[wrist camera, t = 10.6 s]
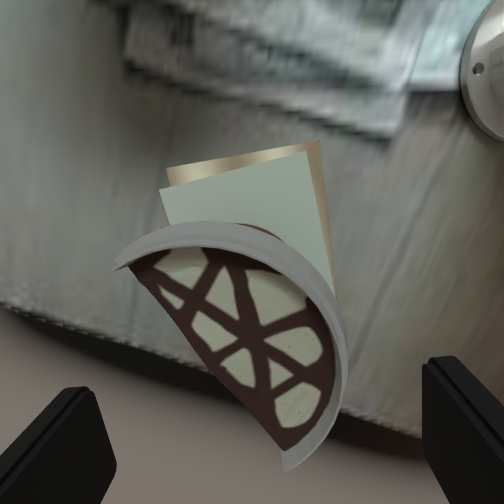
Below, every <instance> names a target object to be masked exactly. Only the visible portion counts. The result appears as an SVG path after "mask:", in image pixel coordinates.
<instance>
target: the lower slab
mask: <svg viewBox="0 0 504 504" xmlns="http://www.w3.org/2000/svg"><path fill="white" fill-rule="evenodd" d="M303 151H306V153H307V158H308V163H309V168H310V173H311V178H312V183H313V188H314V193H315V198H316V203H317V208H318V212H319V217H320V222H321V227H322V232H323V237H324V242H325V247H326V252H327V257H328V262H329V267H330V272H331V277H332V282H333V287H334V292H335V297H336V300H337V296H336V287H335V278H334V269H333V260H332V250H331V241H330V232H329V223H328V214H327V205H326V196H325V187H324V177H323V168H322V159H321V150H320V141H319V140H318V141H313V142H307V143H302V144H296V145H291V146H285V147H280V148H274V149H269V150H263V151H258V152H252V153H247V154H241V155H236V156H230V157H225V158H219V159H214V160H208V161H203V162H197V163H192V164H186V165H181V166H175V167H169V168H166V170H167V175H168V179H169V183H170V187H171V186H175V185H179V184H183V183H186V182H190V181H194V180H198V179H201V178H205V177H209V176H213V175H216V174H220V173H224V172H228V171H231V170H235V169H239V168H243V167H246V166H250V165H254V164H258V163H261V162H265V161H269V160H273V159H276V158H280V157H284V156H288V155H292V154H295V153H299V152H303Z"/></svg>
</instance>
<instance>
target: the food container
mask: <svg viewBox="0 0 504 504" xmlns="http://www.w3.org/2000/svg"><path fill="white" fill-rule="evenodd" d="M115 261H116V262H117V264H118V266H116V267H115V268H113V269H112V270H111V271H112V272H114V271H116V270H119V269H122V268H124V267H127V266H128V267H129V269H130V270H131V271H132V272H133V273H134V275H135V276H136V278H137V279H138V281H139V282H140V283H141V284H143V285H144V286H145V287H146V288H147V289H148V290H149V291H150V292H151V294H152V295H153V296H154V297H155V298H156V299H157V301H158V302H159V303H160V304H161V306H162V307H163V308H164V309H165V310H166V312H167V313H168V314H169V315H170V317H171V318H172V319H173V321H174V322H175V323H176V325H177V326H178V327H179V329H180V330H181V331H182V333H183V334H184V336H185V337H186V339H187V340H188V341H189V343H190V344H191V346H192V347H193V349H194V350H195V351H196V353H197V354H198V355H199V357H200V358H201V359H202V361H203V362H204V363H205V365H206V366H207V368H208V369H209V370H210V371H211V372H212V373H213V374H214V375H215V376H216V377H217V378H218V379H219V381H220V382H222V384H223V385H224V386H226V387H227V388H228V389H229V390H230V391H231V392H232V393H233V394H234V395H235V396H236V397H237V398H238V399H239V400H240V401H241V402H242V403H243V404H244V405H245V406H246V407H247V408H248V410H249V411H250V412H251V413H252V414H253V416H254V417H255V418H256V419H257V420H258V422H259V423H260V424H261V425H262V426H263V428H264V429H265V430H266V431H267V432H268V434H269V435H271V437H272V438H273V439H274V441H275V442H276V443H277V444H278V446H279V447H280V448H281V456H282V467H283V473H286V472H288V471H289V470H291V469H293V468H294V467H296V466H297V465H299V464H300V463H301V462H303V461H304V460H305V459H306V458H307V457H309V455H311V454H312V453H313V452H314V451H315V450H316V448H317V447H318V446H319V445H320V444H321V443H322V442H323V440H324V439H325V438H326V436H327V434H328V433H329V431H330V429H331V428H332V426H333V424H334V422H335V420H336V417H337V414H338V411H339V409H340V406H341V402H342V400H343V397H344V394H345V388H346V382H347V377H348V354H347V334H346V329H345V324H344V319H343V315H342V313H341V310H340V307H339V305H338V302H337V300H336V297H335V296H334V294H333V292H332V291H331V289H330V287H329V286H328V284H327V282H326V281H325V279H324V278H323V277H322V276H321V274H320V273H319V272H318V271H317V270H316V269H315V267H314V266H313V265H312V264H311V263H310V262H309V261H308V260H307V259H306V258H304V257H303V256H302V255H301V254H300V253H298V252H297V251H296V250H295V249H294V248H292V247H290V246H289V245H287V244H286V243H285V242H284V241H282V240H281V239H280V238H279V237H278V236H276V235H275V234H273V233H271V232H269V231H268V230H265V229H263V228H260V227H258V226H254V225H249V224H240V223H230V222H219V221H195V222H183V223H179V224H175V225H171V226H167V227H163V228H161V229H158V230H156V231H154V232H151V233H149V234H147V235H145V236H142V237H141V238H139V239H138V240H136V241H135V242H133V243H132V244H130V245H128V246H127V247H126V248H125V249H124V250H123V251H122V252H121V254H120V255H119V256H118V257H117V258H116V259H115Z"/></svg>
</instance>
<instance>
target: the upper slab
mask: <svg viewBox="0 0 504 504" xmlns="http://www.w3.org/2000/svg"><path fill="white" fill-rule="evenodd" d="M159 192H160V195H161V198H162V201H163V204H164V207H165V210H166V214H167V217H168V220H169V223H170V226H171V225H175V224H179V223H183V222H195V221H219V222H230V223H240V224H249V225H254V226H258V227H260V228H263V229H265V230H268V231H269V232H271V233H273V234H275V235H276V236H278V237H279V238H280V239H281V240H282V241H284V242H285V243H286V244H287V245H289V246H290V247H292V248H294V249H295V250H296V251H297V252H298V253H300V254H301V255H302V256H303V257H304V258H306V259H307V260H308V261H309V262H310V263H311V264H312V265H313V266H314V267H315V269H316V270H317V271H318V272H319V273H320V274H321V276H322V277H323V278H324V279H325V281H326V282H327V284H328V286H329V287H330V289H331V291H332V292H333V294H334V296H335V292H334V287H333V282H332V277H331V272H330V267H329V262H328V257H327V252H326V247H325V242H324V237H323V232H322V227H321V222H320V217H319V212H318V208H317V203H316V198H315V193H314V188H313V183H312V178H311V173H310V168H309V163H308V158H307V153H306V151H303V152H299V153H295V154H292V155H288V156H284V157H280V158H276V159H273V160H269V161H265V162H261V163H258V164H254V165H250V166H246V167H243V168H239V169H235V170H231V171H228V172H224V173H220V174H216V175H213V176H209V177H205V178H201V179H198V180H194V181H190V182H186V183H183V184H179V185H175V186H171V187H168V188H164V189H160V190H159Z"/></svg>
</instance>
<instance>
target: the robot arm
mask: <svg viewBox="0 0 504 504" xmlns="http://www.w3.org/2000/svg"><path fill="white" fill-rule="evenodd" d="M472 70H473V72H474V73H473V72H472ZM460 81H461V90H462V96H463V99H464V102H465V105H466V108H467V110H468V112H469V114H470V115H471V117H472V119H473V120H474V122H475V123H476V124H477V125H478V126H479V127H480V128H481V129H482V130H483V131H484V132H485V133H487V134H488V135H490V136H491V137H493V138H494V139H496V140H499V141H501V142H504V0H492V1H491V2H490V3H489V4H488V5H487V6H486V8H485V9H484V10H483V11H482V13H481V15H480V16H479V18H478V19H477V21H476V23H475V24H474V26H473V28H472V30H471V32H470V35H469V37H468V40H467V42H466V44H465V49H464V53H463V57H462V61H461V74H460ZM422 446H423V450H424V454H425V457H426V459H427V462H428V463H429V465H430V467H431V469H432V471H433V473H434V475H435V477H436V479H437V480H438V482H439V484H440V486H441V488H442V490H443V492H444V494H445V495H446V497H447V499H448V501H449V503H450V504H504V406H503V405H502V404H501V403H500V402H499V401H498V400H497V399H496V398H495V397H494V396H493V395H492V394H491V392H490V391H489V390H488V389H487V388H486V387H485V386H484V385H483V384H482V383H481V382H480V381H479V380H478V379H477V378H476V377H475V376H474V375H473V374H472V373H471V372H470V371H469V370H468V369H467V368H466V367H465V366H464V365H463V364H462V363H461V362H460V361H459V360H458V359H457V358H456V357H455V356H443V357H431V358H429V360H428V364H423V366H422ZM116 467H117V463H116V459H115V456H114V453H113V450H112V446H111V443H110V440H109V437H108V434H107V431H106V428H105V425H104V422H103V419H102V415H101V412H100V409H99V406H98V403H97V400H96V397H95V394H94V393H93V392H92V391H90V390H89V388H88V387H85V386H82V387H70V388H65V389H63V390H62V391H61V392H60V393H59V394H58V395H57V396H56V397H55V398H54V399H53V400H52V401H51V403H50V404H49V405H48V406H47V407H46V408H45V409H44V410H43V411H42V412H41V413H40V414H39V415H38V416H37V417H36V419H34V421H33V422H32V423H31V424H30V425H29V426H28V427H27V428H26V429H25V430H24V431H23V432H22V433H21V435H19V436H18V438H17V439H16V440H15V441H14V442H13V443H12V444H11V445H10V446H9V447H8V448H7V449H6V450H5V451H4V452H3V453H2V454H1V455H0V504H100V503H101V501H102V499H103V497H104V495H105V493H106V492H107V490H108V488H109V486H110V484H111V482H112V480H113V478H114V475H115V473H116Z"/></svg>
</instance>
